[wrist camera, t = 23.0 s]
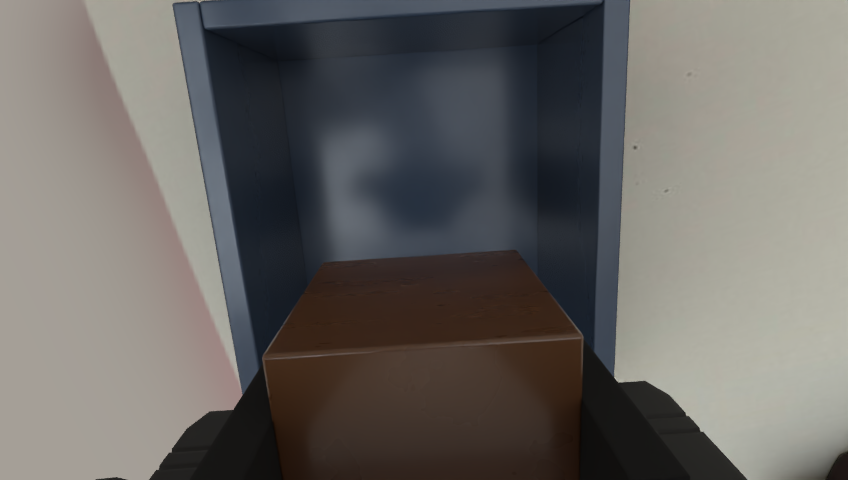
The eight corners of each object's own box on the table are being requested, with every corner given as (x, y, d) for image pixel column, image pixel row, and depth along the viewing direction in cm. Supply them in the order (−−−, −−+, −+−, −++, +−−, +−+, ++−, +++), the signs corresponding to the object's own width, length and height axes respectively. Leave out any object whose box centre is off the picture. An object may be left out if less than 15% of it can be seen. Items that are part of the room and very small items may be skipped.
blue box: (264, 46, 22) (170, 2, 14) (549, 28, 22) (632, -28, 14) (312, 400, 27) (265, 530, 19) (547, 385, 27) (609, 507, 19)
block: (322, 261, 12) (260, 356, 7) (516, 248, 12) (585, 334, 7) (342, 430, 13) (301, 609, 8) (519, 418, 13) (579, 590, 8)
